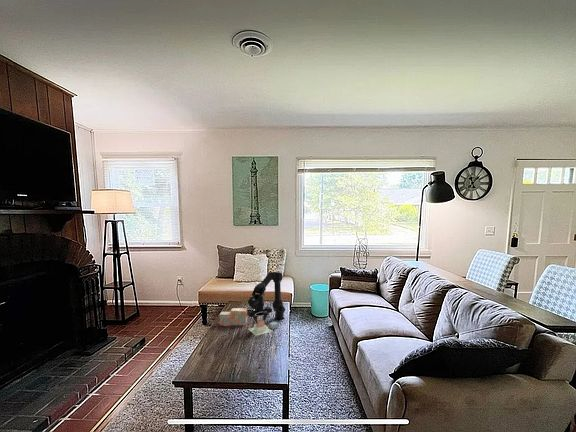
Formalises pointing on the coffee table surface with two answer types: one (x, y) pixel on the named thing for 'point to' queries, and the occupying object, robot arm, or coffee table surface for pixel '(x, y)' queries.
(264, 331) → the baseplate
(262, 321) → the brick terracotta
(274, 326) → the brick blue
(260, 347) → the coffee table surface
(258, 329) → the brick cream
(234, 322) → the stack of blocks
